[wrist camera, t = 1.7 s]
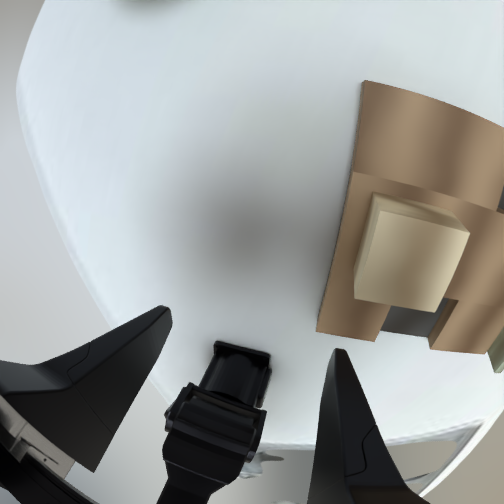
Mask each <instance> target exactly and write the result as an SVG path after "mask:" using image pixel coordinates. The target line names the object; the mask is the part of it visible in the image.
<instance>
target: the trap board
mask: <svg viewBox="0 0 504 504" xmlns="http://www.w3.org/2000/svg"><path fill="white" fill-rule="evenodd" d="M373 191H374V192H379V193H383V194H388V195H392V196H396V197H400V198H404V199H409V200H413V201H416V202H420V203H424V204H428V205H432V206H435V207H439V208H442V209H446V210H449V211H452V212H453V214H454V215H455V216H456V217H457V218H458V219H459V221H460V222H461V223H462V224H463V225H464V226H465V228H466V229H467V230H468V231H469V232H470V235H469V238H468V240H467V243H466V246H465V248H464V251H463V253H462V256H461V258H460V261H459V263H458V265H457V268H456V270H455V272H454V274H453V277H452V279H451V281H450V283H449V285H448V288H447V290H446V292H445V294H444V296H443V298H442V300H441V302H440V304H439V306H438V308H437V310H436V311H435V313H434V312H428V311H422V310H416V309H410V308H404V307H399V306H393V305H387V304H382V303H376V302H370V301H365V300H359V299H355V298H354V271H353V269H354V265H355V262H356V258H357V254H358V251H359V247H360V243H361V239H362V235H363V231H364V227H365V223H366V219H367V215H368V211H369V206H370V202H371V197H372V192H373ZM379 331H386V332H393V333H399V334H406V335H413V336H420V337H427V338H428V342H429V346H430V349H432V350H441V351H451V352H462V353H474V354H485V353H486V352H488V355H489V358H490V361H491V364H492V367H493V370H494V373H501V372H502V371H503V369H504V128H503V127H501V126H499V125H497V124H495V123H493V122H491V121H489V120H487V119H484V118H482V117H480V116H478V115H475V114H473V113H471V112H468V111H466V110H463V109H461V108H458V107H456V106H453V105H451V104H448V103H445V102H442V101H439V100H437V99H434V98H431V97H428V96H424V95H421V94H418V93H415V92H411V91H408V90H404V89H401V88H397V87H393V86H389V85H385V84H381V83H376V82H372V81H367V80H365V81H363V82H362V88H361V98H360V107H359V115H358V124H357V131H356V138H355V146H354V152H353V159H352V165H351V171H350V177H349V183H348V188H347V194H346V199H345V204H344V210H343V215H342V220H341V224H340V229H339V234H338V238H337V243H336V247H335V252H334V256H333V260H332V265H331V269H330V273H329V277H328V281H327V285H326V289H325V293H324V296H323V300H322V304H321V307H320V311H319V315H318V320H317V327H316V332H320V333H326V334H331V335H337V336H342V337H348V338H354V339H360V340H366V341H372V342H375V339H376V337H377V335H378V333H379Z"/></svg>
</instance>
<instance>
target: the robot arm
mask: <svg viewBox="0 0 504 504" xmlns="http://www.w3.org/2000/svg"><path fill="white" fill-rule="evenodd" d="M172 324H173V322H172V316H171V310H170V308H169V307H166V306H163V305H160V306H157V307H155V308H154V309H152V310H150V311H148V312H146V313H144V314H142V315H140V316H138V317H136V318H134V319H132V320H131V321H129V322H127V323H125V324H123V325H121V326H119V327H117V328H115V329H113V330H111V331H110V332H108V333H106V334H104V335H102V336H100V337H98V338H96V339H94V340H92V341H91V342H88V343H86V344H84V345H82V346H81V347H79V348H76V349H74V350H72V351H70V352H67V353H65V354H63V355H60V356H58V357H55V358H53V359H50V360H48V361H45V362H43V363H40V364H35V365H26V364H19V363H13V362H7V361H2V360H0V487H2V488H4V489H6V490H8V491H9V492H10V493H11V494H12V495H13V496H14V497H15V498H16V499H17V500H18V501H19V502H20V503H21V504H99V503H97V502H95V501H94V500H92V499H91V498H89V497H88V496H86V495H85V494H83V493H82V492H80V491H79V490H78V489H76V488H75V487H73V486H72V485H71V484H69V483H68V482H67V481H65V480H64V479H65V477H66V475H67V474H68V472H69V471H70V469H71V467H72V466H73V464H74V463H75V461H76V462H78V463H79V464H81V465H82V466H84V467H85V468H87V469H88V470H90V471H91V472H93V473H94V472H95V470H96V468H97V466H98V464H99V463H100V461H101V459H102V457H103V455H104V453H105V451H106V450H107V448H108V446H109V444H110V442H111V440H112V439H113V437H114V435H115V433H116V431H117V429H118V428H119V425H120V424H121V422H122V420H123V418H124V417H125V415H126V413H127V411H128V410H129V408H130V406H131V404H132V403H133V401H134V399H135V397H136V396H137V394H138V392H139V390H140V389H141V387H142V385H143V383H144V382H145V380H146V378H147V376H148V375H149V373H150V371H151V370H152V368H153V366H154V364H155V363H156V361H157V359H158V357H159V355H160V353H161V351H162V348H163V346H164V344H165V341H166V339H167V337H168V335H169V332H170V330H171V328H172ZM269 363H270V355H268V354H266V353H261V352H257V351H253V350H249V349H245V348H241V347H237V346H233V345H230V344H226V343H222V342H218V341H216V342H215V343H214V356H213V358H212V360H211V362H210V364H209V366H208V368H207V370H206V372H205V374H204V376H203V378H202V380H201V382H200V384H199V386H196V385H194V384H193V383H191V382H189V384H188V385H187V387H183V388H182V390H181V392H180V394H179V395H178V397H177V399H176V400H175V401H174V402H173V403H172V405H171V406H170V407H169V408H168V409H167V410H166V412H165V414H164V416H165V418H166V425H165V431H166V432H169V433H168V435H167V437H166V440H165V442H164V444H163V449H162V453H163V460H164V461H165V464H166V469H167V474H168V480H167V482H166V484H165V486H164V488H163V491H162V493H161V495H160V497H159V499H158V501H157V504H207V502H208V500H209V498H210V496H211V494H212V493H214V492H216V491H217V490H219V489H220V488H222V487H224V486H225V485H228V484H230V483H231V482H232V481H234V480H235V479H236V478H237V477H238V476H239V474H240V472H241V470H242V467H243V465H244V463H245V462H247V463H250V462H251V461H252V459H253V457H254V455H255V453H256V451H257V448H258V446H259V443H260V439H261V435H262V431H263V427H264V422H265V418H266V413H267V411H266V410H260V409H257V408H261V407H262V405H263V402H264V399H265V395H266V392H267V389H268V386H269V382H270V378H271V373H272V370H271V369H270V368H269ZM375 424H376V422H375V419H374V416H373V414H372V411H371V409H370V406H369V404H368V401H367V399H366V397H365V394H364V392H363V389H362V387H361V384H360V382H359V380H358V377H357V375H356V372H355V370H354V368H353V365H352V363H351V361H350V358H349V356H348V354H347V352H346V350H344V349H339V348H335V349H334V351H333V353H332V356H331V358H330V361H329V364H328V368H327V373H326V378H325V383H324V388H323V392H322V397H321V403H320V412H319V422H318V431H317V440H316V448H315V456H314V463H313V470H312V477H311V483H310V489H309V495H308V501H307V504H430V503H429V502H427V501H426V500H424V499H423V498H421V497H420V496H419V495H417V494H416V493H414V492H413V491H412V490H411V489H410V488H409V487H408V486H407V485H406V483H405V482H404V480H403V479H402V477H401V475H400V473H399V471H398V469H397V467H396V465H395V463H394V461H393V460H392V458H391V456H390V454H389V452H388V450H387V448H386V446H385V444H384V441H383V439H382V437H381V434H380V432H379V429H378V426H377V425H375Z"/></svg>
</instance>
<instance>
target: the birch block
mask: <svg viewBox="0 0 504 504" xmlns="http://www.w3.org/2000/svg"><path fill="white" fill-rule="evenodd" d="M469 235H470V232H469V231H468V230H467V229H466V228H465V226H464V225H463V224H462V223H461V222H460V221H459V219H458V218H457V217H456V216H455V215H454V214H453V212H452V211H449V210H446V209H442V208H439V207H435V206H432V205H428V204H424V203H420V202H416V201H413V200H409V199H404V198H400V197H396V196H392V195H388V194H383V193H379V192H374V191H373V192H372V197H371V202H370V206H369V211H368V215H367V219H366V223H365V227H364V231H363V235H362V239H361V243H360V247H359V251H358V254H357V258H356V262H355V265H354V269H353V271H354V298H355V299H359V300H365V301H370V302H376V303H382V304H387V305H393V306H399V307H404V308H410V309H416V310H422V311H428V312H434V313H435V311H436V310H437V308H438V306H439V304H440V302H441V300H442V298H443V296H444V294H445V292H446V290H447V288H448V285H449V283H450V281H451V279H452V277H453V274H454V272H455V270H456V268H457V265H458V263H459V261H460V258H461V256H462V253H463V251H464V248H465V246H466V243H467V240H468V238H469Z"/></svg>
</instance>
